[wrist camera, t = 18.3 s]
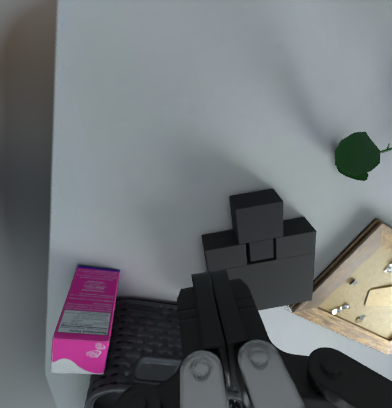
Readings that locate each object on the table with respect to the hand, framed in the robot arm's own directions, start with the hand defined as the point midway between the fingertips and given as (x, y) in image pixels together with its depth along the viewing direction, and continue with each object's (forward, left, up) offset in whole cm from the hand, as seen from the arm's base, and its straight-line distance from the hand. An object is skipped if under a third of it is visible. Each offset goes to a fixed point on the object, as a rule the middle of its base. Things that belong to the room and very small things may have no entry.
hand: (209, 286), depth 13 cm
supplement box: (-15, -18, -23) cm, 33 cm away
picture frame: (+28, -30, -23) cm, 47 cm away
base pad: (+8, -19, -23) cm, 31 cm away
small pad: (+8, -12, -23) cm, 27 cm away
